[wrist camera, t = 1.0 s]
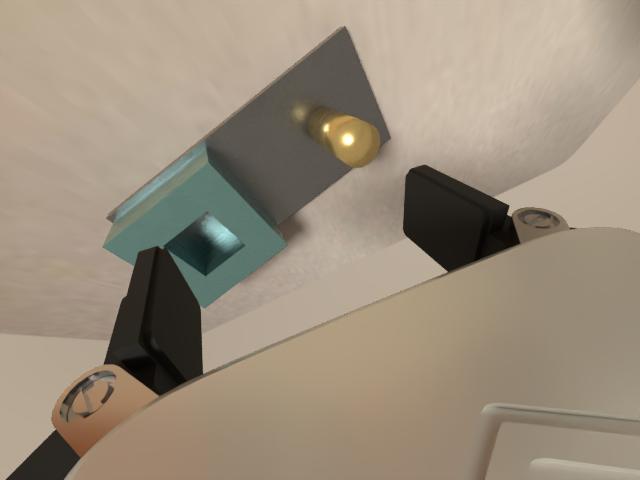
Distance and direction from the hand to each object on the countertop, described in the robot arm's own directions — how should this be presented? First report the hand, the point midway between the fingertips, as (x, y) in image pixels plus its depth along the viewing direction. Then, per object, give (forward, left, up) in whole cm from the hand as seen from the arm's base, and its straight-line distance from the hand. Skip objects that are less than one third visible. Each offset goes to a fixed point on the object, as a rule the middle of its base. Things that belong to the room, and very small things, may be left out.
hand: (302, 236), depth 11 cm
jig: (+1, +5, -21) cm, 22 cm away
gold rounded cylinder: (-7, +5, -20) cm, 22 cm away
